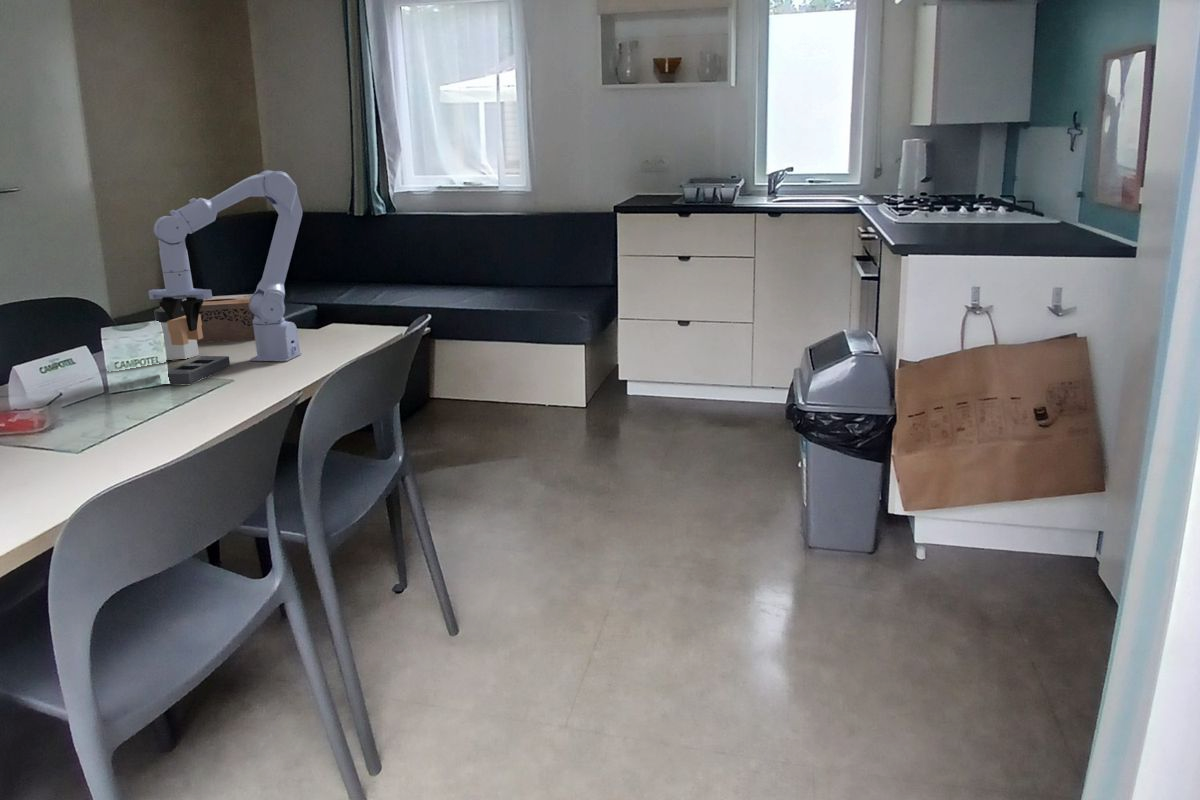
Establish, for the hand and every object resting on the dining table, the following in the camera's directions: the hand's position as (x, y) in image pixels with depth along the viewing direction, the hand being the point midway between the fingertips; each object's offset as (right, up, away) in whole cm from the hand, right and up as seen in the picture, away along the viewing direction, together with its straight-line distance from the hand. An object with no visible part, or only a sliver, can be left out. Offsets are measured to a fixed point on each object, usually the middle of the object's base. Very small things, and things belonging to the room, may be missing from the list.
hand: (186, 330), depth 208 cm
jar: (-9, -5, +16) cm, 19 cm away
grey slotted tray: (+3, -10, -2) cm, 11 cm away
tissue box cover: (-8, +1, +40) cm, 41 cm away
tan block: (0, -2, +1) cm, 3 cm away
